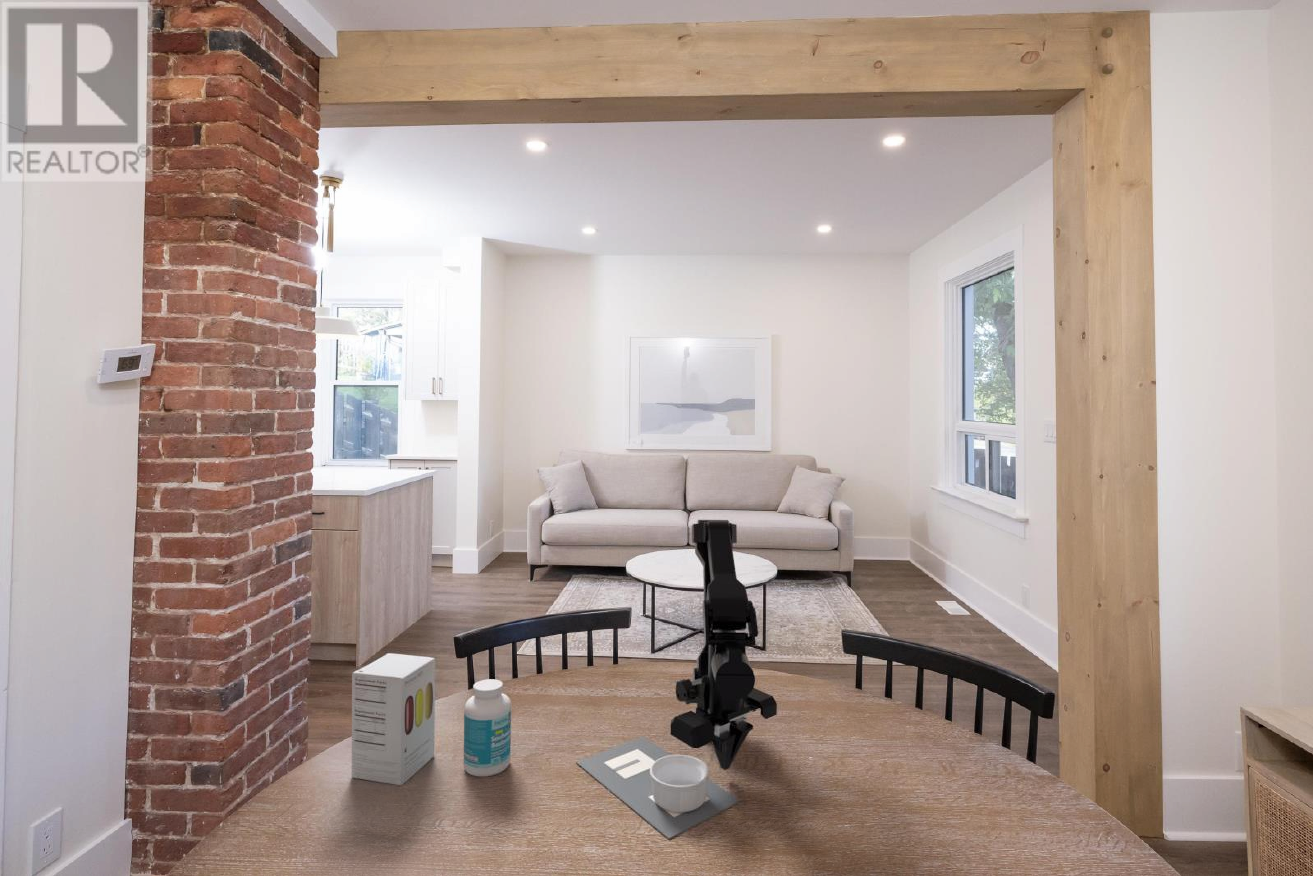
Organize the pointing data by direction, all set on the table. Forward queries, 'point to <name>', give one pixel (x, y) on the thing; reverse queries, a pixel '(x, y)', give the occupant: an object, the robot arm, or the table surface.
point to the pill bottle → (487, 729)
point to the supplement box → (393, 718)
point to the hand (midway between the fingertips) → (724, 768)
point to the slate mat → (649, 786)
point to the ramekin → (679, 782)
